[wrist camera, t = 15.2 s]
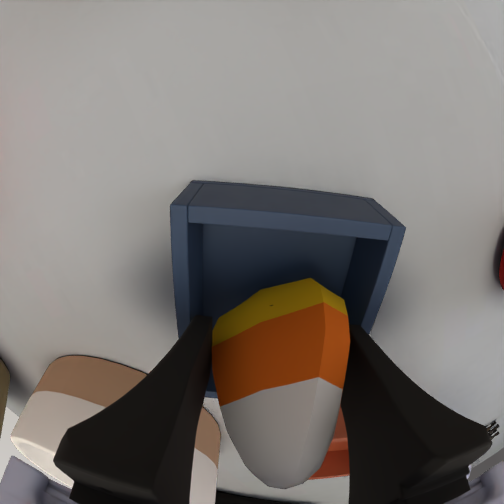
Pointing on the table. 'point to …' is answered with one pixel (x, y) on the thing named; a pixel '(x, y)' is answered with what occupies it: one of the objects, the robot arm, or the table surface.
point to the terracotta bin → (336, 454)
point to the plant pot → (3, 390)
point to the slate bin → (277, 248)
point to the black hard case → (239, 500)
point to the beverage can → (502, 270)
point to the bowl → (90, 403)
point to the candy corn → (282, 378)
